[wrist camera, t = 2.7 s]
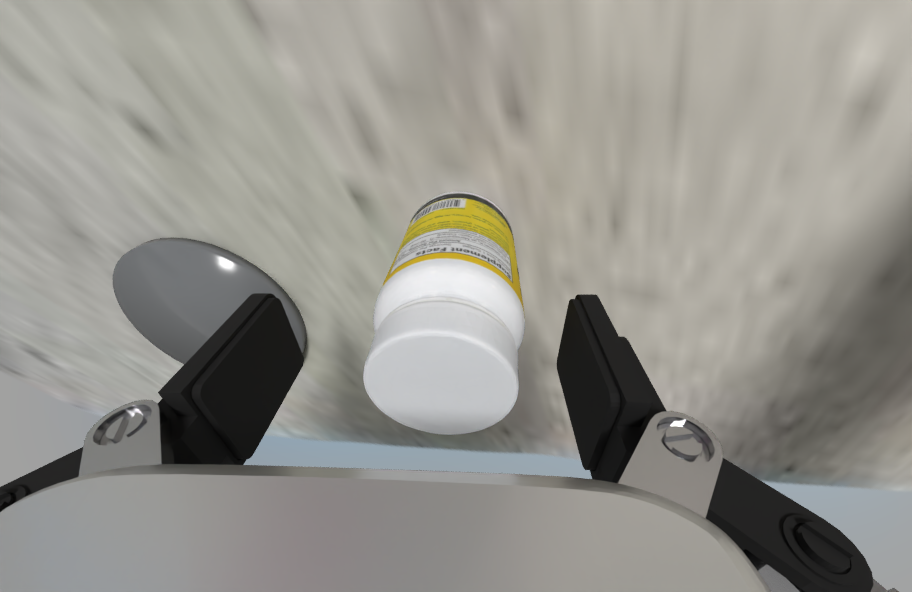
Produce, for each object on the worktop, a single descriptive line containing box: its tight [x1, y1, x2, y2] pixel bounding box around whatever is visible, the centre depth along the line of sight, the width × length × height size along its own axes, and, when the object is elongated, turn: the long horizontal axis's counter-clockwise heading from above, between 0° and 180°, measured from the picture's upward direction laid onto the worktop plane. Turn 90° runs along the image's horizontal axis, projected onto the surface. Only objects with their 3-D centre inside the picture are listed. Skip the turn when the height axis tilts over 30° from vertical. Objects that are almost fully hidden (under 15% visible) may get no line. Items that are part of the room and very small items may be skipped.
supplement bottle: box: [363, 192, 525, 435], centre depth 12 cm, size 5×5×8 cm
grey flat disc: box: [113, 238, 306, 364], centre depth 19 cm, size 10×10×1 cm
